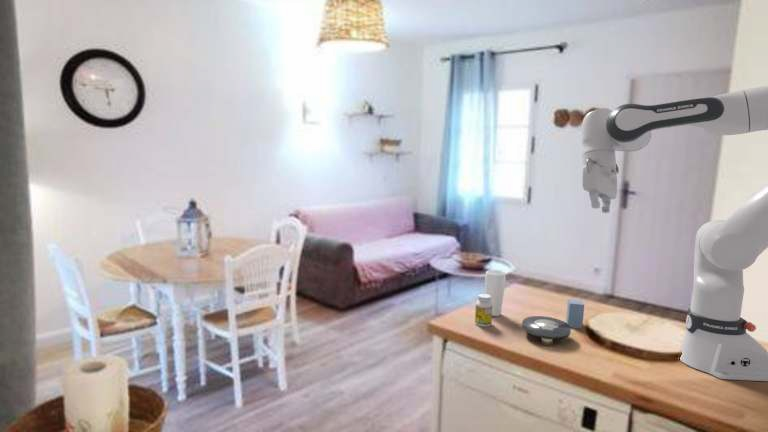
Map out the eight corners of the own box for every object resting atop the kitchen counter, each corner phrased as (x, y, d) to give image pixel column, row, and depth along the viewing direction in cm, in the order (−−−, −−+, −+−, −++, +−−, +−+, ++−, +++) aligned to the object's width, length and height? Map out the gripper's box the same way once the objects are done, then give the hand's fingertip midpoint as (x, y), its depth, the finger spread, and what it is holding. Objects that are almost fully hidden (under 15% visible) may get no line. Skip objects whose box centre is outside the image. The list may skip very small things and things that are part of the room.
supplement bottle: (494, 325, 150) (496, 297, 149) (481, 328, 148) (482, 299, 146) (485, 319, 155) (486, 292, 153) (471, 321, 153) (473, 294, 151)
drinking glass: (503, 318, 156) (506, 275, 154) (483, 316, 158) (485, 274, 155) (502, 311, 163) (505, 270, 161) (483, 309, 164) (485, 269, 162)
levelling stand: (566, 330, 147) (567, 316, 146) (572, 349, 134) (574, 334, 133) (520, 325, 150) (521, 312, 150) (522, 343, 137) (523, 328, 136)
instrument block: (580, 323, 154) (582, 300, 152) (582, 328, 149) (584, 304, 148) (566, 321, 155) (568, 299, 153) (567, 326, 150) (569, 303, 149)
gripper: (599, 154, 126) (601, 204, 124) (620, 169, 141) (622, 214, 139) (575, 157, 130) (577, 206, 128) (598, 172, 145) (600, 215, 143)
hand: (600, 210), depth 134 cm, fingers open, 8 cm apart
